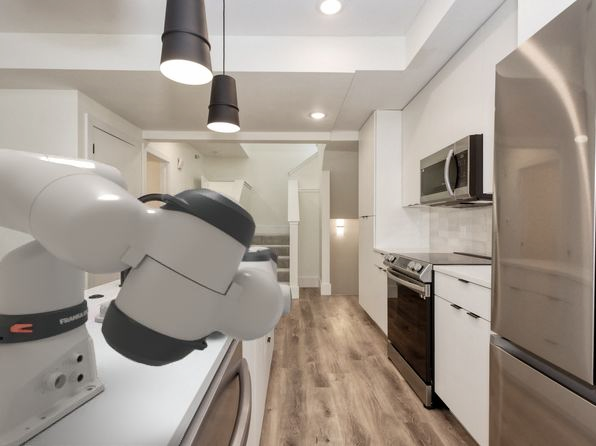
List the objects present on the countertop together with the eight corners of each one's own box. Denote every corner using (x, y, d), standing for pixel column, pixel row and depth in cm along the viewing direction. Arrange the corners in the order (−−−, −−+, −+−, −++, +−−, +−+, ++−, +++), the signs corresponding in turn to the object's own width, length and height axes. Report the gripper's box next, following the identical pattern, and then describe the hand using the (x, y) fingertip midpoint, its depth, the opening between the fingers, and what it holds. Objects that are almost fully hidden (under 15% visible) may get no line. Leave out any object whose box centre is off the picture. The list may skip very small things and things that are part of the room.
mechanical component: (86, 324, 88) (122, 323, 88) (86, 308, 88) (122, 307, 88) (108, 313, 98) (141, 313, 98) (108, 299, 98) (140, 298, 98)
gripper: (221, 324, 75) (162, 324, 75) (238, 302, 96) (191, 302, 96) (221, 297, 75) (162, 298, 75) (237, 280, 96) (191, 281, 96)
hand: (178, 300), depth 86 cm, fingers closed on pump, 5 cm apart
